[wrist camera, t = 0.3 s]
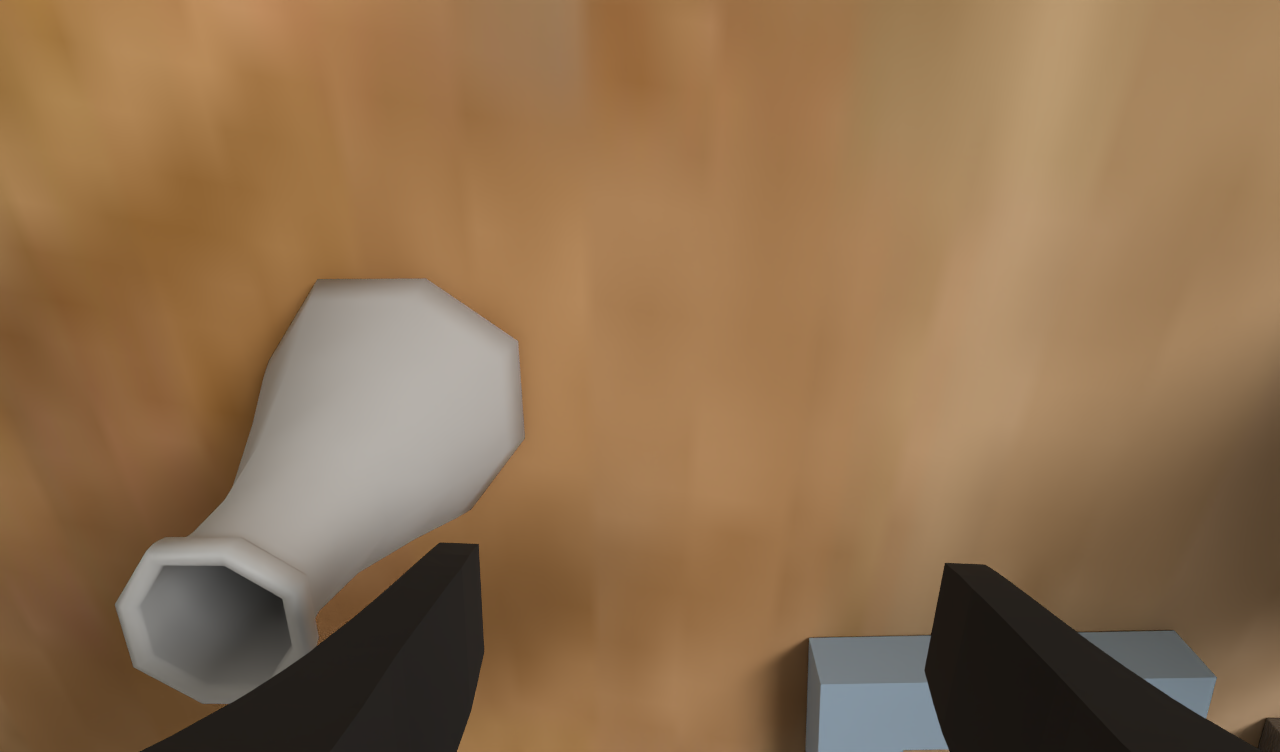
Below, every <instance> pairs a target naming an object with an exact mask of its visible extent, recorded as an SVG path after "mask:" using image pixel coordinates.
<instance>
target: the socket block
mask: <svg viewBox="0 0 1280 752" xmlns="http://www.w3.org/2000/svg"><path fill="white" fill-rule="evenodd" d="M1258 749H1259V750H1261V751H1263V752H1280V718H1270V719H1267V720H1266V723H1265V727H1264V730H1263V734H1262V737H1261V740H1260V744H1259V747H1258Z"/></svg>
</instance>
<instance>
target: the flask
mask: <svg viewBox="0 0 1280 752" xmlns="http://www.w3.org/2000/svg"><path fill="white" fill-rule="evenodd" d="M524 439H525V432H524V418H523V404H522V390H521V376H520V362H519V347H518V341H517V340H516V339H514V338H513V337H511V336H510V335H508V334H507V333H505V332H504V331H502V330H501V329H499V328H498V327H497V326H495V325H494V324H492V323H491V322H489V321H488V320H486V319H485V318H483V317H482V316H480V315H479V314H477V313H476V312H474V311H473V310H471V309H470V308H469V307H467V306H466V305H464V304H463V303H461V302H460V301H458V300H457V299H455V298H454V297H452V296H451V295H449V294H448V293H446V292H445V291H444V290H442V289H441V288H439V287H438V286H436V285H435V284H433V283H432V282H430V281H429V280H427V279H317V281H316V283H315V284H314V286H313V288H312V289H311V291H310V293H309V294H308V296H307V298H306V299H305V301H304V303H303V305H302V306H301V308H300V310H299V311H298V313H297V315H296V316H295V318H294V320H293V321H292V323H291V325H290V326H289V328H288V330H287V331H286V333H285V335H284V336H283V338H282V340H281V342H280V343H279V345H278V347H277V348H276V350H275V352H274V353H273V355H272V357H271V358H270V360H269V362H268V365H267V368H266V371H265V375H264V378H263V382H262V386H261V391H260V395H259V399H258V403H257V408H256V412H255V416H254V420H253V424H252V428H251V431H250V434H249V437H248V440H247V443H246V446H245V450H244V453H243V456H242V459H241V462H240V465H239V469H238V472H237V475H236V478H235V481H234V484H233V487H232V489H231V490H230V492H229V494H228V495H227V497H226V498H225V500H224V501H223V502H222V503H221V504H220V505H219V506H218V507H217V508H216V509H215V510H214V511H213V512H212V513H211V514H210V515H209V516H208V517H207V519H206V520H205V521H204V522H203V523H202V524H201V525H200V526H199V527H198V528H197V529H196V530H195V531H194V532H193V533H191V534H190V535H188V536H187V537H165V538H163V539H161V540H159V541H157V542H155V543H153V544H152V546H151V547H150V548H149V549H148V550H147V551H146V552H145V554H144V556H143V557H142V559H141V561H140V563H139V564H138V566H137V568H136V569H135V571H134V573H133V574H132V576H131V578H130V580H129V581H128V583H127V585H126V586H125V588H124V590H123V591H122V593H121V595H120V596H119V598H118V600H117V602H116V603H115V607H116V610H117V614H118V617H119V620H120V624H121V627H122V630H123V634H124V637H125V640H126V644H127V647H128V650H129V654H130V657H131V660H132V664H133V667H134V668H136V669H138V670H140V671H142V672H144V673H145V674H147V675H149V676H151V677H153V678H155V679H157V680H159V681H161V682H163V683H164V684H166V685H168V686H170V687H172V688H174V689H176V690H178V691H180V692H181V693H183V694H185V695H187V696H189V697H191V698H193V699H195V700H197V701H198V702H200V703H202V704H230V703H232V702H234V701H235V700H237V699H239V698H240V697H242V696H244V695H245V694H247V693H249V692H250V691H252V690H253V689H255V688H256V687H258V686H260V685H261V684H263V683H264V682H266V681H267V680H269V679H271V678H272V677H274V676H275V675H277V674H278V673H280V672H281V671H283V670H284V669H286V668H287V667H289V666H290V665H292V664H293V663H295V662H296V661H297V660H299V659H300V658H302V657H303V656H304V655H306V654H307V653H309V652H310V651H311V650H312V649H314V648H315V647H316V646H317V643H318V639H319V636H318V630H317V625H316V620H315V618H316V616H317V613H318V612H319V610H321V609H322V608H323V607H324V606H325V605H326V604H327V603H328V602H329V601H330V600H331V599H332V598H333V597H334V596H335V595H336V594H337V593H338V592H339V591H340V590H341V589H342V588H343V587H344V586H345V585H346V584H347V583H348V582H349V581H350V580H351V579H352V578H353V577H354V576H355V575H356V574H357V573H359V572H361V571H362V570H364V569H366V568H367V567H369V566H371V565H372V564H374V563H376V562H377V561H379V560H381V559H382V558H384V557H386V556H387V555H389V554H391V553H392V552H394V551H396V550H397V549H399V548H401V547H402V546H404V545H406V544H407V543H409V542H411V541H412V540H414V539H416V538H418V537H420V536H422V535H424V534H426V533H428V532H430V531H432V530H434V529H436V528H438V527H440V526H442V525H443V524H445V523H447V522H449V521H451V520H453V519H455V518H457V517H459V516H461V515H462V514H464V513H466V512H467V511H469V510H471V509H472V508H473V506H474V505H475V504H476V502H477V501H478V500H479V498H480V497H481V496H482V494H483V493H484V492H485V490H486V489H487V488H488V486H489V485H490V484H491V482H492V481H493V480H494V478H495V477H496V476H497V474H498V473H499V472H500V470H501V469H502V468H503V467H504V465H505V464H506V463H507V461H508V460H509V459H510V457H511V456H512V455H513V453H514V452H515V451H516V449H517V448H518V447H519V445H520V444H521V443H522V441H523V440H524Z"/></svg>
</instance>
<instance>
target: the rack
mask: <svg viewBox="0 0 1280 752" xmlns="http://www.w3.org/2000/svg"><path fill="white" fill-rule="evenodd" d="M1079 634H1080V635H1082V636H1083V637H1084V638H1086V639H1087V640H1088V641H1090V642H1091V643H1093V644H1094V645H1095V646H1097V647H1098V648H1100V649H1101V650H1102V651H1104V652H1105V653H1106V654H1108V655H1109V656H1111V657H1112V658H1114V659H1115V660H1116V661H1118V662H1119V663H1121V664H1122V665H1124V666H1125V667H1126V668H1128V669H1129V670H1131V671H1132V672H1134V673H1135V674H1137V675H1138V676H1140V677H1141V678H1143V679H1144V680H1146V681H1147V682H1149V683H1150V684H1152V685H1153V686H1155V687H1156V688H1158V689H1159V690H1161V691H1162V692H1164V693H1165V694H1167V695H1168V696H1170V697H1171V698H1173V699H1174V700H1176V701H1178V702H1179V703H1181V704H1182V705H1184V706H1186V707H1187V708H1189V709H1191V710H1192V711H1194V712H1195V713H1197V714H1199V715H1200V716H1202V717H1204V718H1206V717H1207V713H1208V709H1209V705H1210V701H1211V698H1212V694H1213V690H1214V686H1215V682H1216V679H1217V677H1216V676H1215V675H1214V674H1213V673H1212V672H1211V670H1210V669H1209V668H1208V667H1207V666H1206V665H1205V664H1204V663H1203V662H1202V661H1201V659H1200V658H1199V657H1198V656H1197V655H1196V654H1195V653H1194V652H1193V651H1192V649H1191V648H1190V647H1189V646H1188V645H1187V644H1186V643H1185V642H1184V641H1183V640H1182V638H1181V637H1180V636H1179V635H1178V634H1177V633H1176V632H1175V631H1129V632H1080V633H1079ZM930 638H931V636H883V637H834V638H809V658H808V689H807V720H806V751H805V752H903V750H936V749H948V746H947V744H946V741H945V739H944V736H943V734H942V731H941V728H940V725H939V721H938V718H937V715H936V711H935V708H934V705H933V701H932V697H931V693H930V690H929V686H928V682H927V679H926V675H925V671H924V669H925V664H926V659H927V654H928V649H929V643H930Z"/></svg>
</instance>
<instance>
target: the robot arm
mask: <svg viewBox="0 0 1280 752" xmlns="http://www.w3.org/2000/svg"><path fill="white" fill-rule="evenodd" d="M483 654H484V639H483V620H482V601H481V582H480V562H479V544H462V543H439V544H438V545H436V546H435V547H434V548H433V549H432V550H431V551H429V552H428V553H427V554H426V555H425V556H424V557H422V558H421V559H420V560H419V561H418V562H417V563H416V564H415V565H413V566H412V567H411V568H410V569H409V570H408V571H407V572H406V573H405V574H403V575H402V576H401V577H400V578H399V579H398V580H397V581H396V582H394V583H393V584H392V585H391V586H390V587H389V588H388V589H387V590H385V591H384V592H383V593H382V594H381V595H380V596H379V597H377V598H376V599H375V600H374V601H373V602H371V603H370V604H369V605H368V606H367V607H366V608H364V609H363V610H362V611H361V612H360V613H359V614H357V615H356V616H355V617H354V618H353V619H351V620H350V621H349V622H347V623H346V624H345V625H344V626H342V627H341V628H340V629H338V630H337V631H336V632H334V633H333V634H332V635H331V636H329V637H328V638H327V639H325V640H324V641H323V642H322V643H320V644H319V645H318V646H316V647H315V648H314V649H312V650H311V651H310V652H309V653H307V654H306V655H304V656H303V657H302V658H300V659H299V660H297V661H296V662H295V663H293V664H292V665H290V666H289V667H287V668H286V669H284V670H283V671H281V672H280V673H278V674H277V675H275V676H274V677H272V678H271V679H269V680H267V681H266V682H264V683H263V684H261V685H260V686H258V687H256V688H255V689H253V690H252V691H250V692H249V693H247V694H245V695H244V696H242V697H240V698H239V699H237V700H235V701H234V702H232V703H230V704H228V705H227V706H225V707H223V708H221V709H219V710H218V711H216V712H214V713H212V714H210V715H208V716H207V717H205V718H203V719H201V720H199V721H198V722H196V723H194V724H192V725H190V726H188V727H187V728H185V729H183V730H181V731H179V732H178V733H176V734H174V735H172V736H170V737H168V738H166V739H164V740H162V741H160V742H158V743H156V744H154V745H152V746H150V747H148V748H146V749H144V750H142V751H140V752H457V749H458V747H459V744H460V741H461V738H462V735H463V732H464V730H465V727H466V724H467V721H468V718H469V715H470V712H471V708H472V704H473V700H474V695H475V691H476V687H477V682H478V678H479V673H480V668H481V664H482V659H483ZM924 671H925V675H926V679H927V682H928V686H929V690H930V693H931V697H932V701H933V705H934V708H935V711H936V715H937V718H938V721H939V725H940V728H941V731H942V734H943V736H944V739H945V741H946V744H947V746H948V749H949V751H950V752H1263V751H1261V750H1259V749H1257V748H1256V747H1254V746H1252V745H1250V744H1248V743H1247V742H1245V741H1243V740H1242V739H1240V738H1238V737H1236V736H1235V735H1233V734H1231V733H1230V732H1228V731H1226V730H1224V729H1223V728H1221V727H1219V726H1218V725H1216V724H1214V723H1212V722H1211V721H1209V720H1207V719H1206V718H1204V717H1202V716H1200V715H1199V714H1197V713H1195V712H1194V711H1192V710H1191V709H1189V708H1187V707H1186V706H1184V705H1182V704H1181V703H1179V702H1178V701H1176V700H1174V699H1173V698H1171V697H1170V696H1168V695H1167V694H1165V693H1164V692H1162V691H1161V690H1159V689H1158V688H1156V687H1155V686H1153V685H1152V684H1150V683H1149V682H1147V681H1146V680H1144V679H1143V678H1141V677H1140V676H1138V675H1137V674H1135V673H1134V672H1132V671H1131V670H1129V669H1128V668H1126V667H1125V666H1124V665H1122V664H1121V663H1119V662H1118V661H1116V660H1115V659H1114V658H1112V657H1111V656H1109V655H1108V654H1106V653H1105V652H1104V651H1102V650H1101V649H1100V648H1098V647H1097V646H1095V645H1094V644H1093V643H1091V642H1090V641H1088V640H1087V639H1086V638H1084V637H1083V636H1082V635H1080V634H1079V633H1078V632H1076V631H1075V630H1074V629H1072V628H1071V627H1070V626H1068V625H1067V624H1066V623H1064V622H1063V621H1062V620H1060V619H1059V618H1058V617H1056V616H1055V615H1054V614H1052V613H1051V612H1050V611H1048V610H1047V609H1046V608H1044V607H1043V606H1042V605H1040V604H1039V603H1038V602H1036V601H1035V600H1034V599H1032V598H1031V597H1030V596H1028V595H1027V594H1026V593H1024V592H1023V591H1022V590H1020V589H1019V588H1018V587H1016V586H1015V585H1014V584H1012V583H1011V582H1010V581H1008V580H1007V579H1006V578H1004V577H1003V576H1001V575H1000V574H999V573H997V572H996V571H994V570H993V569H991V568H990V567H988V566H986V565H981V564H956V563H945V566H944V571H943V576H942V581H941V587H940V592H939V597H938V602H937V607H936V612H935V618H934V623H933V628H932V633H931V638H930V643H929V649H928V654H927V659H926V664H925V669H924Z"/></svg>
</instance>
